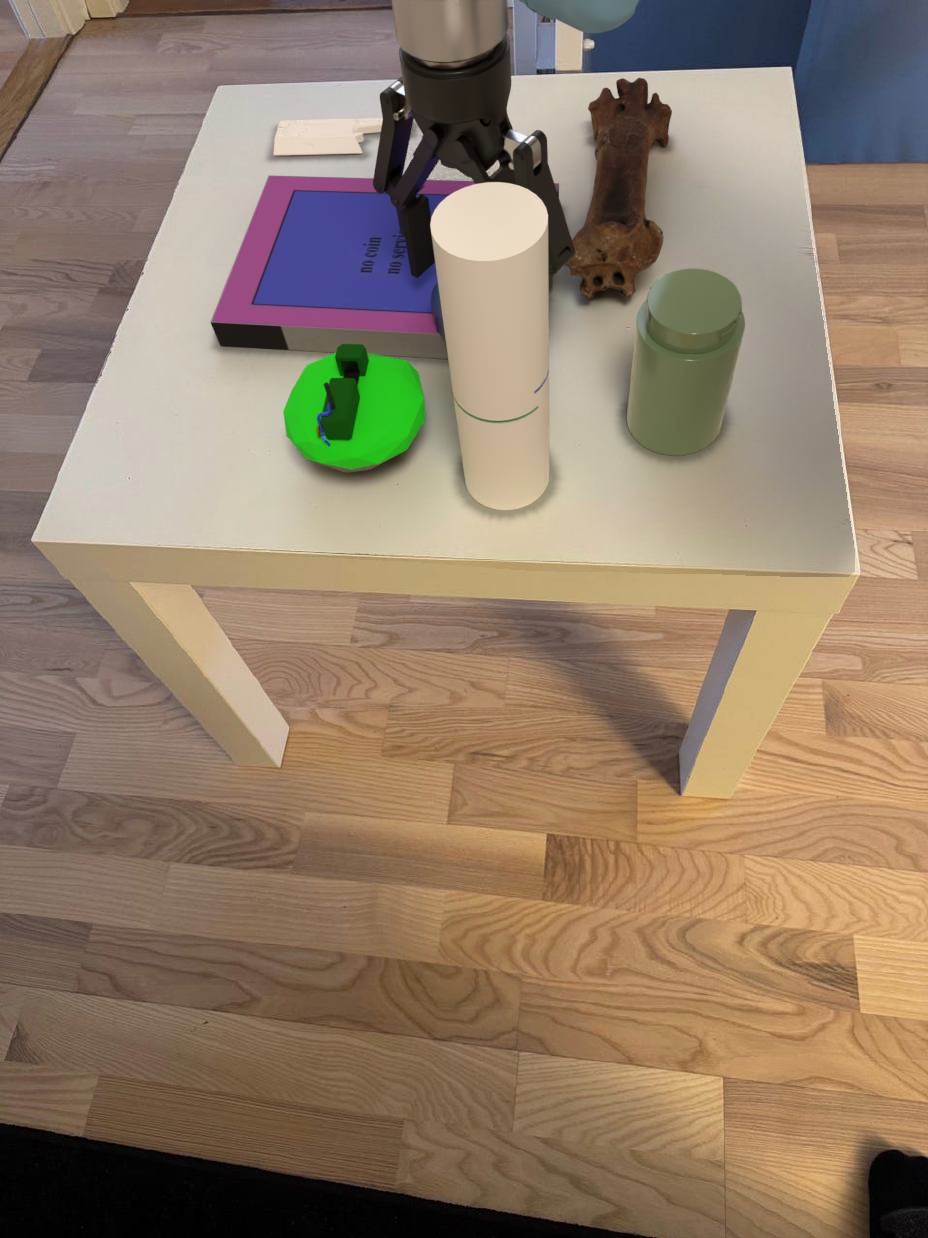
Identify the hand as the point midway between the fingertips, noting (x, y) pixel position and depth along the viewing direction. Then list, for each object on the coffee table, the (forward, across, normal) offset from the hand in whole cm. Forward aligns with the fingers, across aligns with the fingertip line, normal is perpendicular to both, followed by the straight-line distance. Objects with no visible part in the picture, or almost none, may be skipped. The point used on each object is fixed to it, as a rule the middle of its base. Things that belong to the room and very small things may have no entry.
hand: (477, 294), depth 80 cm
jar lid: (0, 0, 0) cm, 1 cm away
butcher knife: (+5, +31, -15) cm, 35 cm away
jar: (+5, -20, -2) cm, 20 cm away
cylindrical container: (+6, -12, +11) cm, 17 cm away
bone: (+6, 0, -22) cm, 23 cm away
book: (+6, +12, -2) cm, 14 cm away
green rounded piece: (+6, +1, +15) cm, 16 cm away
